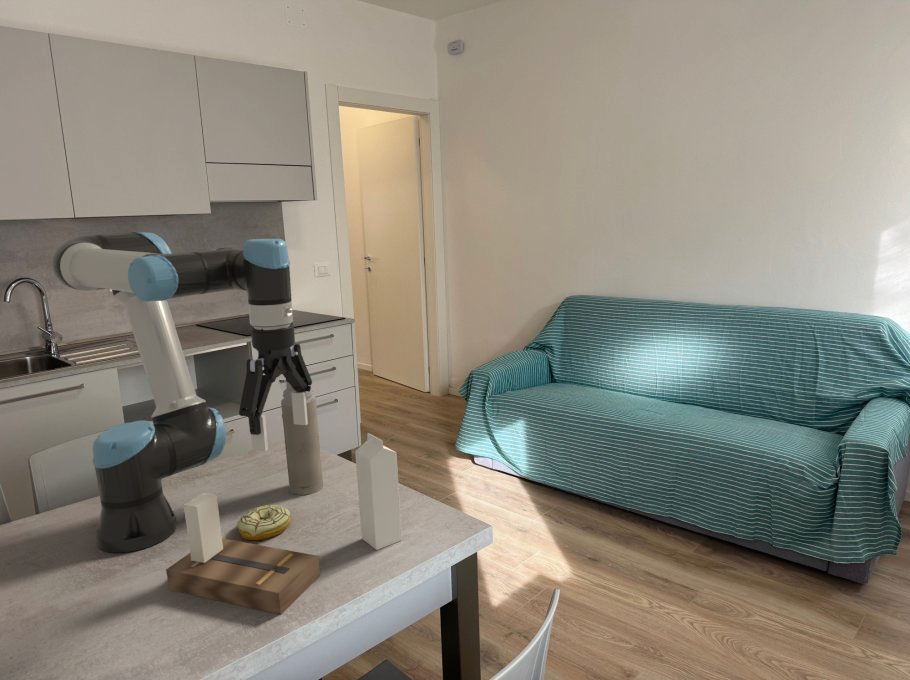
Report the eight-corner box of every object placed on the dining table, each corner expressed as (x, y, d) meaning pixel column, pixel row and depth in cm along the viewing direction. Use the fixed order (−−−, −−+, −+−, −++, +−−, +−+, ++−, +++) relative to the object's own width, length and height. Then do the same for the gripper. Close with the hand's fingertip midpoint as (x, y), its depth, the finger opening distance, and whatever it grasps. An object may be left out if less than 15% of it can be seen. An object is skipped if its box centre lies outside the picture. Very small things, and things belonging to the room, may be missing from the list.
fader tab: (191, 560, 117) (183, 504, 115) (210, 546, 122) (203, 492, 119) (204, 563, 116) (196, 506, 114) (223, 549, 121) (216, 494, 118)
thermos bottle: (284, 494, 152) (272, 380, 147) (297, 480, 160) (286, 371, 154) (316, 495, 151) (306, 380, 146) (327, 481, 159) (318, 371, 153)
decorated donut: (229, 532, 136) (227, 515, 135) (274, 513, 144) (272, 497, 143) (254, 548, 129) (252, 531, 128) (300, 527, 137) (298, 511, 136)
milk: (376, 550, 126) (368, 445, 121) (361, 538, 131) (353, 436, 126) (402, 540, 130) (395, 436, 125) (387, 528, 134) (379, 429, 130)
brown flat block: (169, 589, 116) (166, 568, 115) (215, 555, 127) (212, 536, 126) (281, 614, 107) (278, 592, 106) (320, 575, 118) (318, 555, 117)
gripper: (248, 341, 103) (259, 464, 108) (325, 313, 126) (331, 416, 131) (209, 339, 106) (222, 460, 110) (291, 312, 129) (299, 413, 133)
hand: (281, 436), depth 121 cm, fingers open, 13 cm apart
